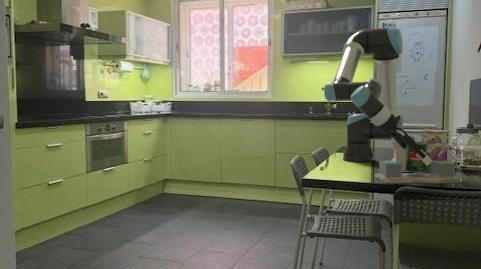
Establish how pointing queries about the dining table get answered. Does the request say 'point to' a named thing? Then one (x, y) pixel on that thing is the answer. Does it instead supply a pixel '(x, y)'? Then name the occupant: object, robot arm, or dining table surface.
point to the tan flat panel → (415, 176)
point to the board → (422, 181)
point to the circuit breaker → (400, 153)
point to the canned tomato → (415, 159)
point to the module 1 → (390, 168)
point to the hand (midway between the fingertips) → (425, 161)
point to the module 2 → (442, 168)
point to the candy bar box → (437, 144)
